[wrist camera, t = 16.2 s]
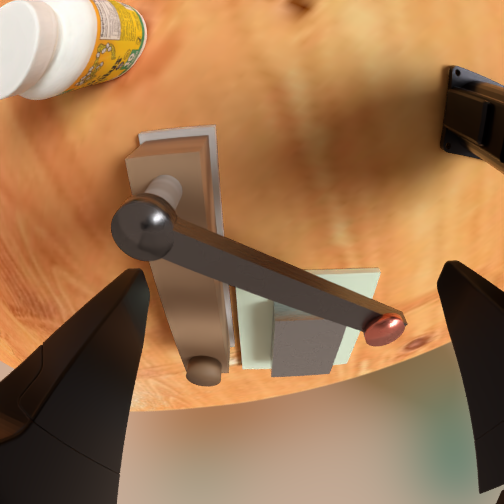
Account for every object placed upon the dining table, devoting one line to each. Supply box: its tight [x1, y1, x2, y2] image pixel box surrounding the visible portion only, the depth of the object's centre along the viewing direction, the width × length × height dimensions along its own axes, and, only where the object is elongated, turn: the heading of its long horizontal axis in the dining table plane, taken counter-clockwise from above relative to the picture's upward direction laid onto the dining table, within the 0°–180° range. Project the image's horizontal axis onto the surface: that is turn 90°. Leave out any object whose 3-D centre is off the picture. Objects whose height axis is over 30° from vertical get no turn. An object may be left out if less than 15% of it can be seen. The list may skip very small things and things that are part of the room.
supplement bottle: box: [0, 0, 147, 100], centre depth 9 cm, size 5×5×10 cm
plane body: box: [125, 125, 235, 386], centre depth 20 cm, size 21×5×7 cm, turn 1°
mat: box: [236, 268, 381, 369], centre depth 27 cm, size 12×14×1 cm
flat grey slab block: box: [270, 301, 347, 377], centre depth 26 cm, size 6×9×2 cm, turn 1°
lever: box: [111, 193, 407, 346], centre depth 14 cm, size 16×3×2 cm, turn 62°
